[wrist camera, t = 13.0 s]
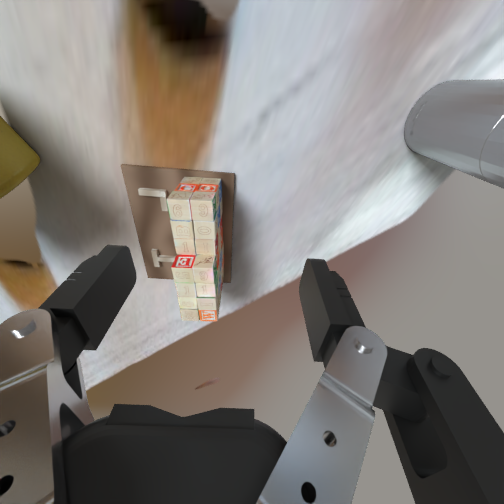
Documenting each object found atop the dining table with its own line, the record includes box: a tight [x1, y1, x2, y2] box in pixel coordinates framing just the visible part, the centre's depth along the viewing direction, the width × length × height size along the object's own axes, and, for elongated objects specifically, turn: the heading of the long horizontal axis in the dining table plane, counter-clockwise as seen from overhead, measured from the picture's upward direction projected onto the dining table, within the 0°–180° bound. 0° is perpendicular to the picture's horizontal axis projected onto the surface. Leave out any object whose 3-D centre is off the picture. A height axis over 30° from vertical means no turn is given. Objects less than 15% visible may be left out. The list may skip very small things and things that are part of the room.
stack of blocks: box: [167, 177, 224, 321], centre depth 39 cm, size 21×6×12 cm, turn 177°
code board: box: [121, 164, 234, 283], centre depth 44 cm, size 18×24×1 cm
